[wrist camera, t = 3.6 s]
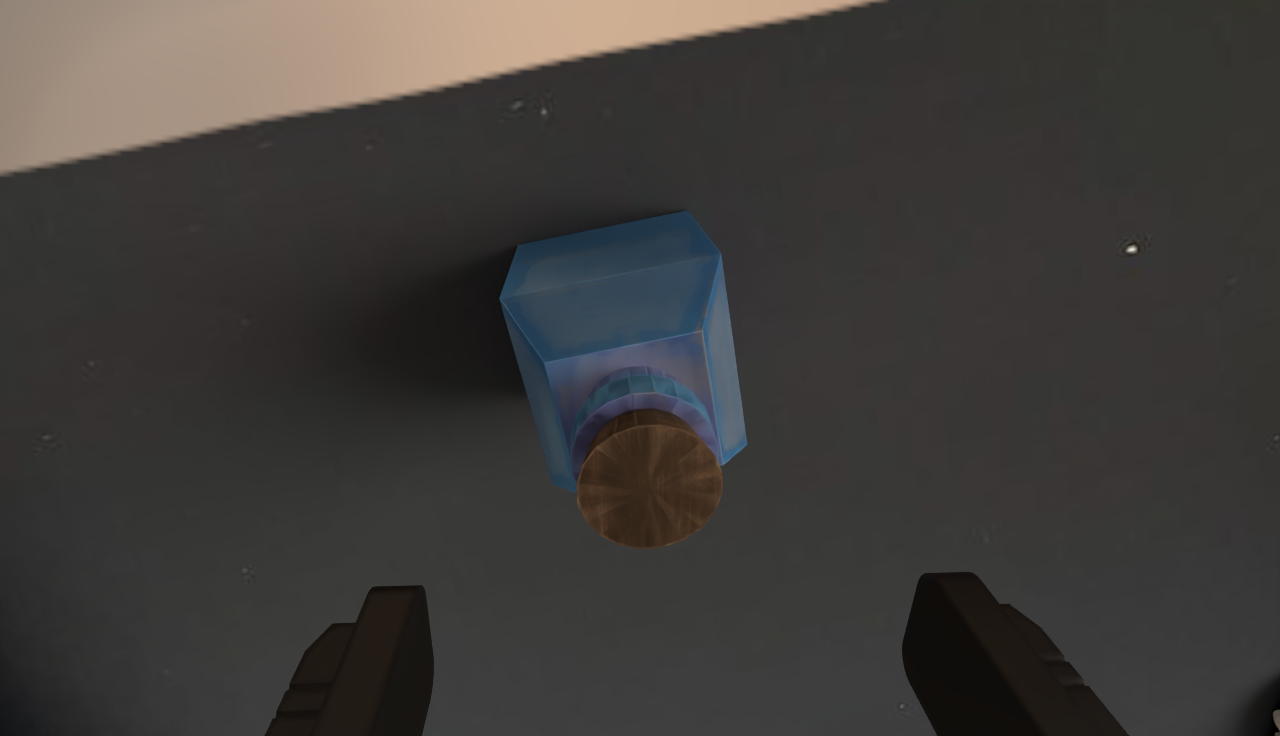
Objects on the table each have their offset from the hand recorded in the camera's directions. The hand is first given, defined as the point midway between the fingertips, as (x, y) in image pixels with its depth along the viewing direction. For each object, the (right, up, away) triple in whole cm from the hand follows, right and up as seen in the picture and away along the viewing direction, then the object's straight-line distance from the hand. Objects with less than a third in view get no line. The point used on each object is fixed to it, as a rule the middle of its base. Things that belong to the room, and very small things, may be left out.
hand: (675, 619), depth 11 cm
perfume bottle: (-1, +6, +15) cm, 16 cm away
